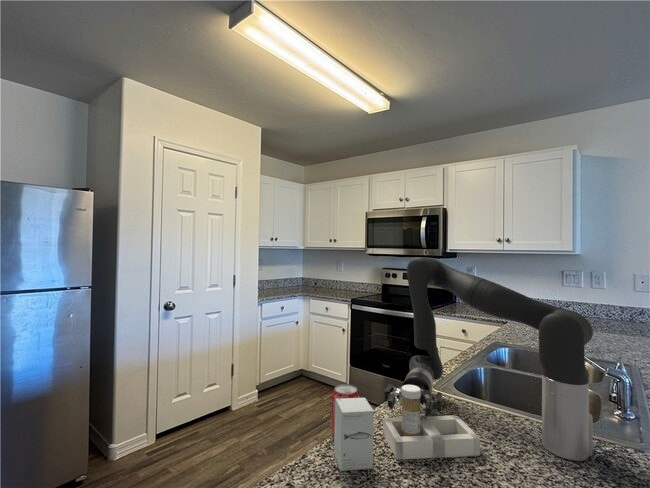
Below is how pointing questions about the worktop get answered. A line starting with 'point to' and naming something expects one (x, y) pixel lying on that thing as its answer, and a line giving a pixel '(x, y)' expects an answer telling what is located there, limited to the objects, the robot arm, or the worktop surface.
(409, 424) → the sprinkles bottle
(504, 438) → the worktop surface
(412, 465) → the worktop surface
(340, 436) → the supplement box
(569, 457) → the robot arm
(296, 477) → the worktop surface
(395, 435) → the divided compartment tray
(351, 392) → the soda can
